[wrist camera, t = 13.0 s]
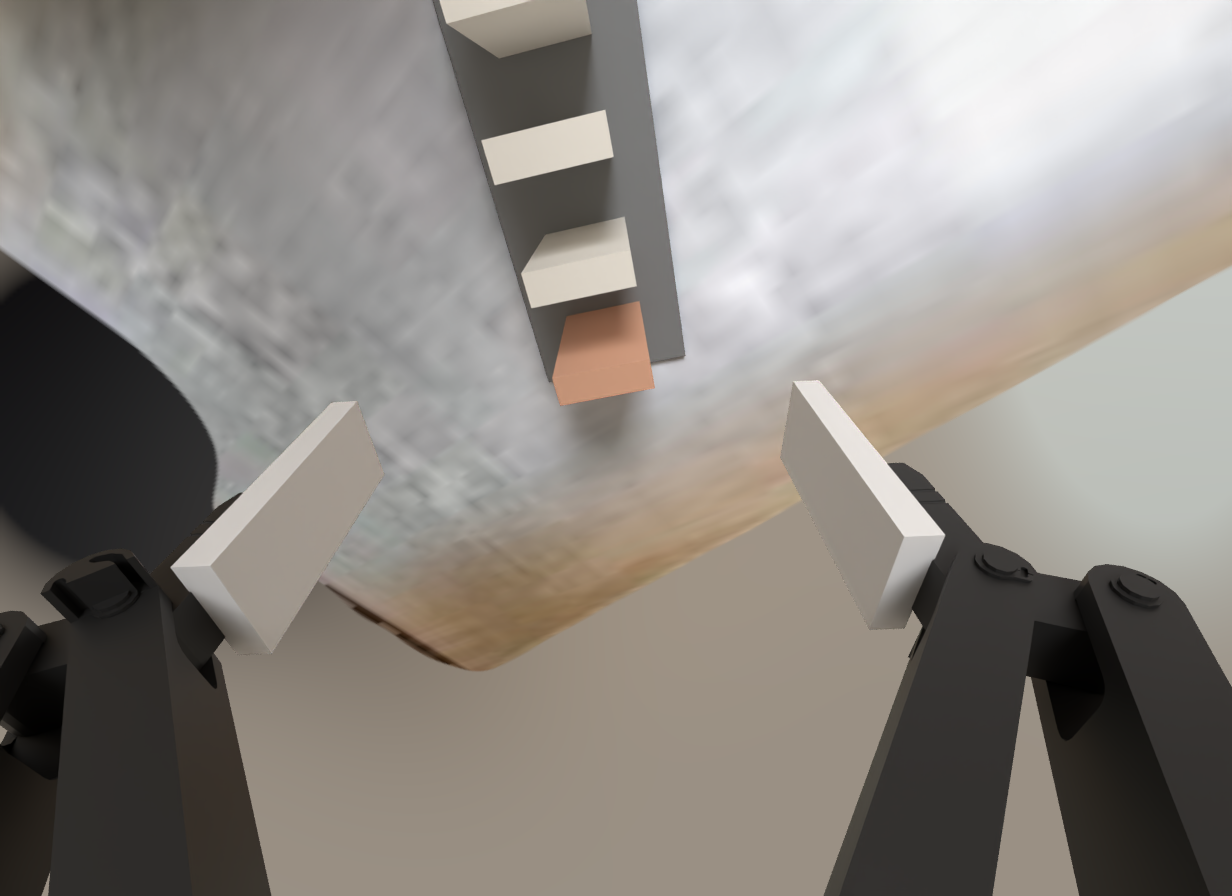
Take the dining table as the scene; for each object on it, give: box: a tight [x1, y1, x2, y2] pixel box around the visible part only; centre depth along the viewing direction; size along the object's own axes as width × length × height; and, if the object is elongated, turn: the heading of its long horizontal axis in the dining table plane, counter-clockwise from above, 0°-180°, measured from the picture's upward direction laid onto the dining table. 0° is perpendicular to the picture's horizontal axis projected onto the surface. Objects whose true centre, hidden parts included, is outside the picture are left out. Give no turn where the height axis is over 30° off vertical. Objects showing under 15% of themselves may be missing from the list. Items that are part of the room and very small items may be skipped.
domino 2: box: [481, 110, 614, 185], centre depth 24 cm, size 2×5×10 cm, turn 102°
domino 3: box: [521, 217, 637, 308], centre depth 27 cm, size 2×5×10 cm, turn 102°
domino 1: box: [439, 0, 592, 58], centre depth 21 cm, size 2×5×10 cm, turn 101°
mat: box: [433, 0, 685, 382], centre depth 29 cm, size 27×10×1 cm, turn 12°
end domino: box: [552, 301, 655, 406], centre depth 29 cm, size 2×5×10 cm, turn 102°
